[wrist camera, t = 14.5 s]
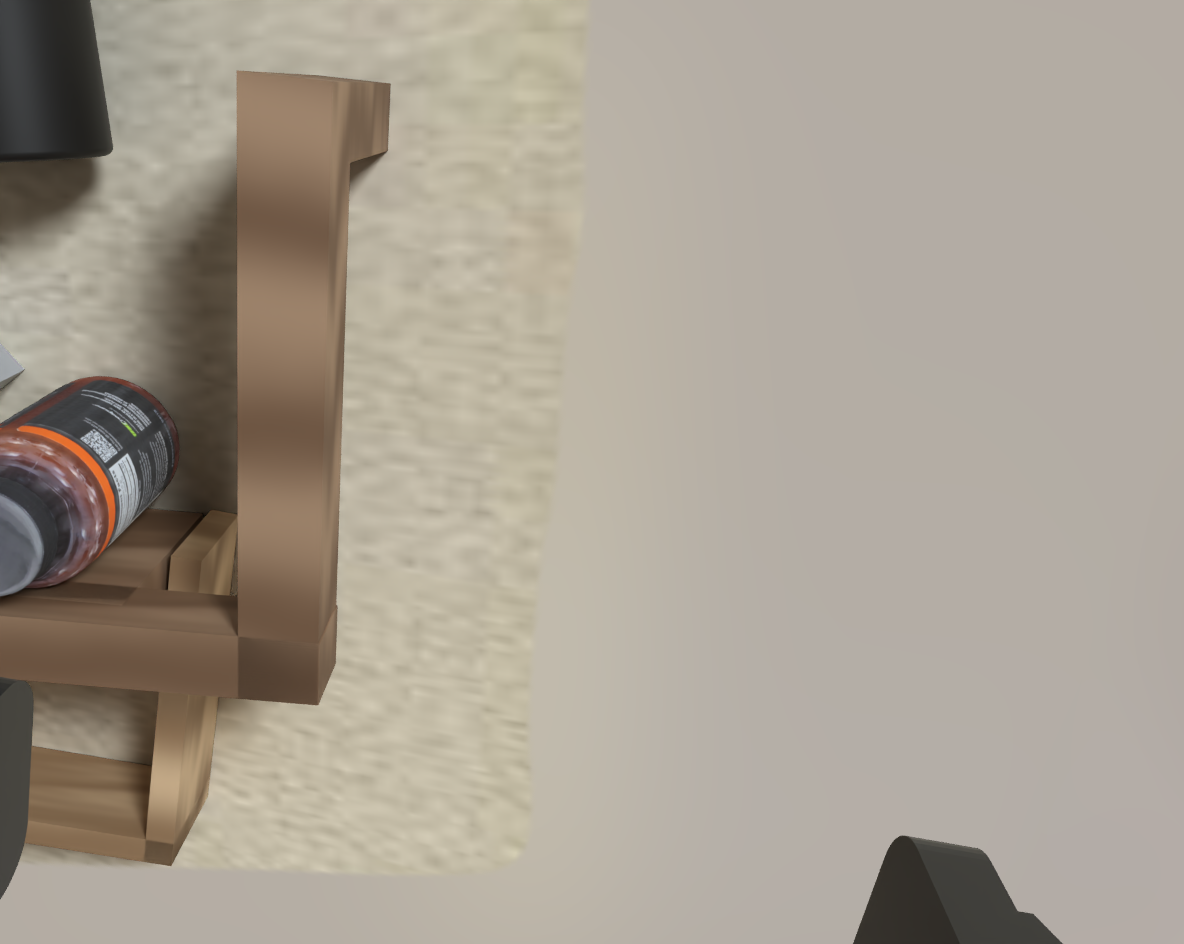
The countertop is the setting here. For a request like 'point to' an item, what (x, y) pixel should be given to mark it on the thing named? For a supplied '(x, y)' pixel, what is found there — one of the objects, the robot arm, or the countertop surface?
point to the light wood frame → (180, 758)
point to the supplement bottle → (78, 476)
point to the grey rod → (8, 367)
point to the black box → (50, 82)
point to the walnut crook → (243, 442)
